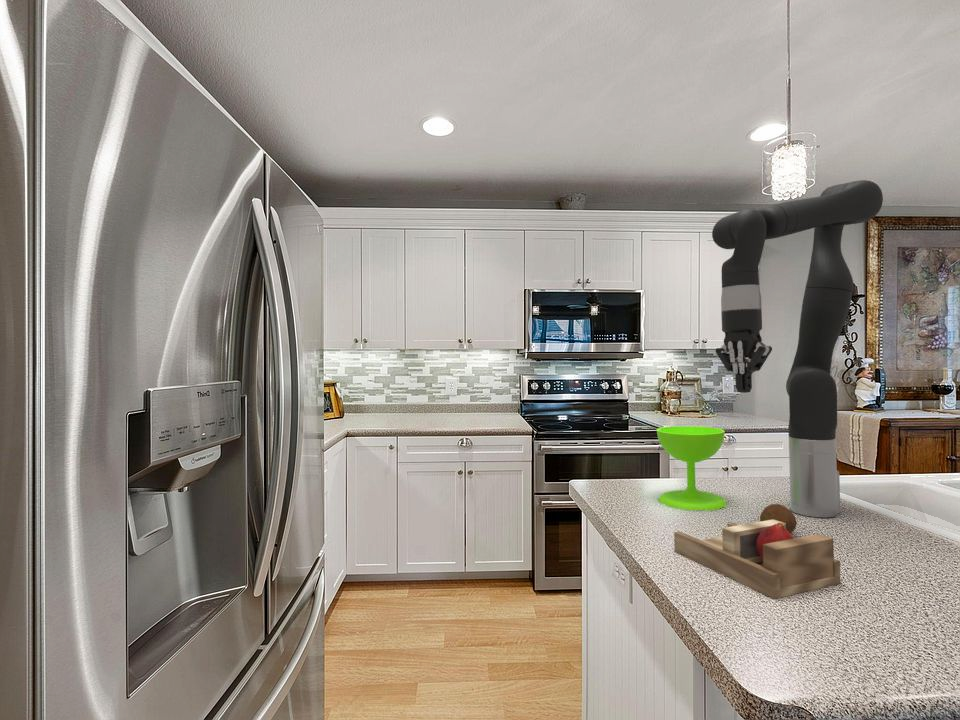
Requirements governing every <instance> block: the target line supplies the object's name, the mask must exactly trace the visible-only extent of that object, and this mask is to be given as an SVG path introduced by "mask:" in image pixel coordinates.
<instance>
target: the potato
mask: <svg viewBox="0 0 960 720" xmlns="http://www.w3.org/2000/svg"><path fill="white" fill-rule="evenodd" d="M761 511H762V512H761V513H760V516H759V522H761V521H767V520H773V519H774V520H777V521H780V522H783V523H786V530H787V531H788V532H789V533H790V534H791V535H792V533H793V532H794V531H795V529H796V527H797V525H798V521H797V518H796V516H795V514H794V512H793V511H791V509H789V508H788V507H787V506H785V505H783V504H779V503H773V504H772V503H771V504H769V505H768V506H766V507H764V508H763V510H761Z"/></svg>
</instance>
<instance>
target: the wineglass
mask: <svg viewBox="0 0 960 720" xmlns="http://www.w3.org/2000/svg"><path fill="white" fill-rule="evenodd" d="M725 433H726V432H725V430H724V429H721V428H716V427H711V426H710V427H708V426H695V425H693V426H692V425H691V426H689V425H685V426H684V425H683V426H682V425H680V426H679V425H678V426H676V425H675V426H665V427H659V428H657V429H656V434H657V439H658V441H659V444H660V446H661V447H662V448H663V449H664V451H665V452H666V453H667V455H670V456H671V457H673V458H674V459H676V460H678V461H681V462H684V463H686V476H687V477H686V479H687V480H686V481H687V482H686V483H687V484H686V485H687V487H686V488H685V489H683V490H671V491H667V492H666V491H665V492H664V493H662V494H661V495H660V496H659V498H658V502H659V501H660V502H661V503H660V502H659V503H660V504H662V503H663V504H665V505H664V506H666V505H667V506H666V507H669V506H670V507H669V508H673V507H674V508H673V509H677V508H679V510H684V509H685V510H686V511H695V510H708V511H714V510H715V509H717V510H720V508H721V509H723V508H722V507H724V508H726V507H727V506H726V504H727V501H726V500H725V498H723V497H722V496H720V495H717V494H714V493H712V492H707V491H701V490H698V489H697V487H696V463H699V462H703V461H707V460H708V459H710V458H711V457H713V456H715V454H717V453H718V451H719V450H720V449H721V448H722V447H721V446H722V445H723V442H724V439H725ZM663 504H662V505H663ZM715 511H716V510H715Z"/></svg>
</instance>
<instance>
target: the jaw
mask: <svg viewBox="0 0 960 720" xmlns="http://www.w3.org/2000/svg"><path fill="white" fill-rule="evenodd" d="M778 522H780V521H777V520H774V519H773V520H767V521H761V522H760V521H755V522H750V523H749V522H748V523H744V524H738V525H737V526H731V527H727V526H726V527H722V528H721V535H722V536H721V537H722V540H723V550H725V551H727V552H730V553H732V554H734V555H737V556H739V557H741V558H744V559H746V560H748V561H751V562H753V563H757V562H762V561H763V558H762V557H761V556H760V554H759V552H758V550H757V548H756V541H757V538H758V536H759V534H760V533H761V531H762V530H764V529H765V528H767V527H769V526H772V525H775V524H776V523H778ZM784 525H785V526H784V528H785V529H786V523H784Z"/></svg>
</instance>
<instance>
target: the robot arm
mask: <svg viewBox="0 0 960 720" xmlns="http://www.w3.org/2000/svg"><path fill="white" fill-rule="evenodd" d="M883 201H884V196H883V190H882V189H881V186H879V185H878V183H875V182H874V181H871V180H862V179H861V180H854V181H849V182H844V183H840V184H835V185H832V186H829V187H828V186H827V187H826V188H825V189H824V190H823V191H822V192H821V194H820V196H815V197H807V198H802V199H801V198H800V199H795V200H789V201H788V200H787V201H783V202H779V203H774V204H770V205H766V206H764V207H761V208H759V209H755V208H746V209H742V210H739V211H736V212H734V213H732V214H729V215H726V216H723V217H722V218H720V219H719V220H718V221H717V222H716V223H715V224H714V226H713V228H712V231H711V236H712V241H713V242H714V244H716V246H717V247H719V248H721V249H724V250H733V253H732V256H731V257H729V258H728V259H726V260H725V261H724V262H723V263H722V265H721V288H722V289H721V297H720V307H721V308H720V309H721V312H720V313H721V332H723V333H724V339H723V345H721V347H719V348H718V347H717V348H716V349H715V353H716V355H717V357H718V358H719V360H720V362H721V363H722V365H723V367H724V368H725V369H726V370H727V372H732V373H733V374H734V376H735V380H734V381H735V389H736V392H737V393H750V392H751V390H752V386H753V385H752V384H753V381H752V379H753V378H752V375H753V373H755V372H759V371H760V370H761V369H762V367H763V366H764V363H766V360H767V359H768V357H769V355H770V354H771V353H772V351H773V347H772V346H771V345H766V344H765V343H764V342H763V339H762V336H761V330H762V329H763V320H762V319H763V317H762V316H763V315H762V314H763V313H762V312H763V311H762V294H761V289H760V268H759V267H760V263H761V259H762V255H763V250H764V246H765V242H766V240H772V239H778V238H781V237H785V236H789V235H793V234H796V233H800V232H804V231H807V230H811V229H814V230H813V240H812V241H813V242H812V243H813V244H812V251H811V256H810V263H809V269H808V275H807V281H806V284H805V288H804V292H803V293H804V294H803V298H802V303H801V304H802V305H801V311H800V319H799V330H798V331H799V332H798V341H797V347H796V351H795V355H794V358H793V362H792V364H791V365H792V366H791V368H790V371H789V373H788V374H789V375H788V377H787V379H786V383H785V385H786V386H785V388H786V390H785V391H786V393H787V396H788V400H789V401H788V402H789V408H788V409H789V421H788V428H787V430H788V454H789V455H788V458H789V459H788V460H789V461H788V462H789V463H788V464H789V489H790V490H789V496H790V497H789V498H790V501H789V502H790V511H791V512H792V513H795V514H799V515H801V516H807V517H813V518H833V517H836V516H838V515H839V513H841V489H840V487H841V485H840V479H841V478H840V471H839V470H837V466H838V465H837V441H836V440H837V439H836V438H837V437H836V430H837V427H838V389H837V384H836V381H835V379H834V377H833V376H832V375H831V370H832V360H833V355H834V350H835V347H836V344H837V341H838V340H839V338H840V334H841V332H842V330H843V328H844V325H845V323H846V320H847V317H848V315H849V311H850V307H851V303H852V297H853V292H854V279H853V276H852V272H851V270H850V268H849V266H848V264H847V262H846V260H845V258H844V255H843V253H842V238H843V237H842V236H843V230H844V227H845V226H849V225H856V224H862V223H865V222H869V221H870V220H871V219H873V218H874V217H876V216H877V215H878V214H879V212H880V211H881V210H882V206H883Z"/></svg>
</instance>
